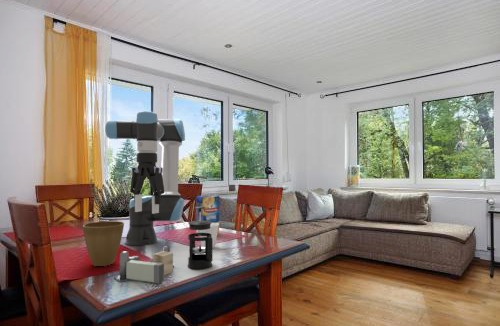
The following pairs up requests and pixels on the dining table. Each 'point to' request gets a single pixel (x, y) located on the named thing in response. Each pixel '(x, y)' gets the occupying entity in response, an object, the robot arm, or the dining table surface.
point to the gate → (145, 271)
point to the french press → (200, 259)
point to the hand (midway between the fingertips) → (146, 212)
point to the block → (164, 260)
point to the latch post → (167, 249)
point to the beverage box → (208, 209)
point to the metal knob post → (124, 265)
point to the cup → (213, 231)
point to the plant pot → (103, 241)
